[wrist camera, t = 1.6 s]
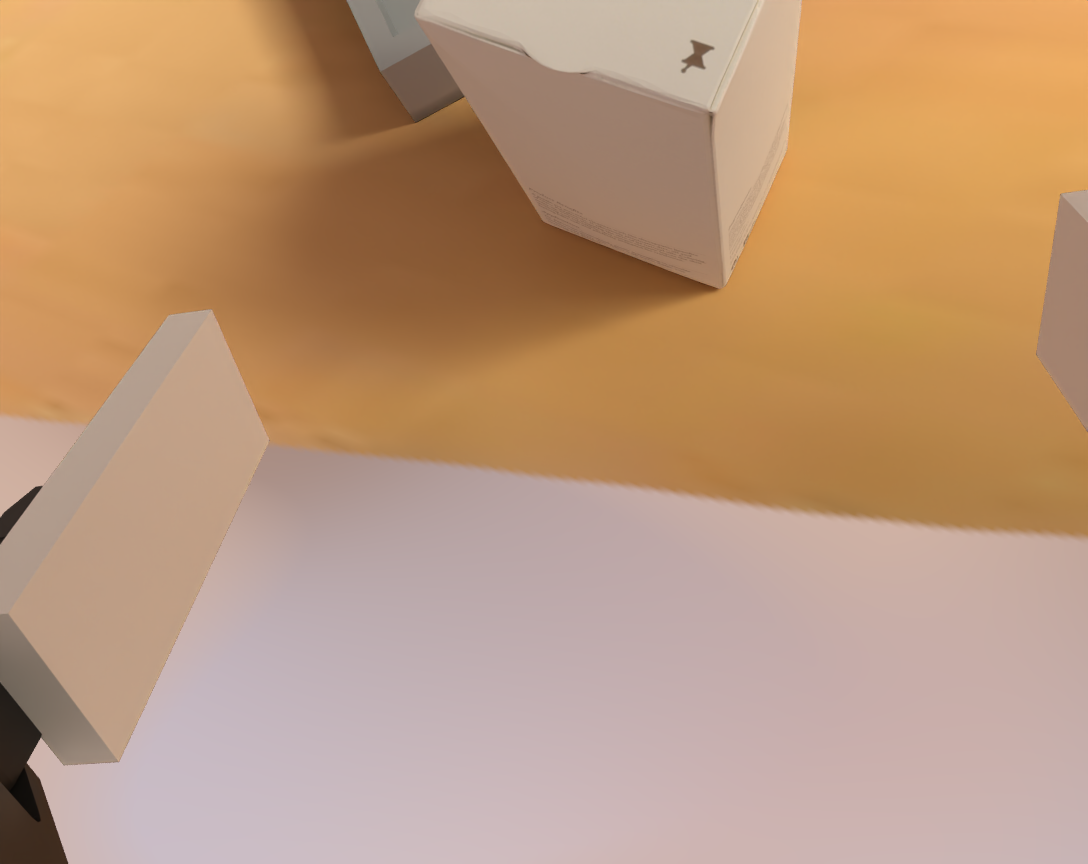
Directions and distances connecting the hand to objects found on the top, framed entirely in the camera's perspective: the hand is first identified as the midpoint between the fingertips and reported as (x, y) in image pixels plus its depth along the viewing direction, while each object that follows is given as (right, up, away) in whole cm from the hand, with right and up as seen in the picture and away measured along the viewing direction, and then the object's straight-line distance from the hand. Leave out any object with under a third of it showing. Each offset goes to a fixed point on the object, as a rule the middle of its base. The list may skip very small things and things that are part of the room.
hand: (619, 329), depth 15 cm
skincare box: (+3, +8, +23) cm, 24 cm away
